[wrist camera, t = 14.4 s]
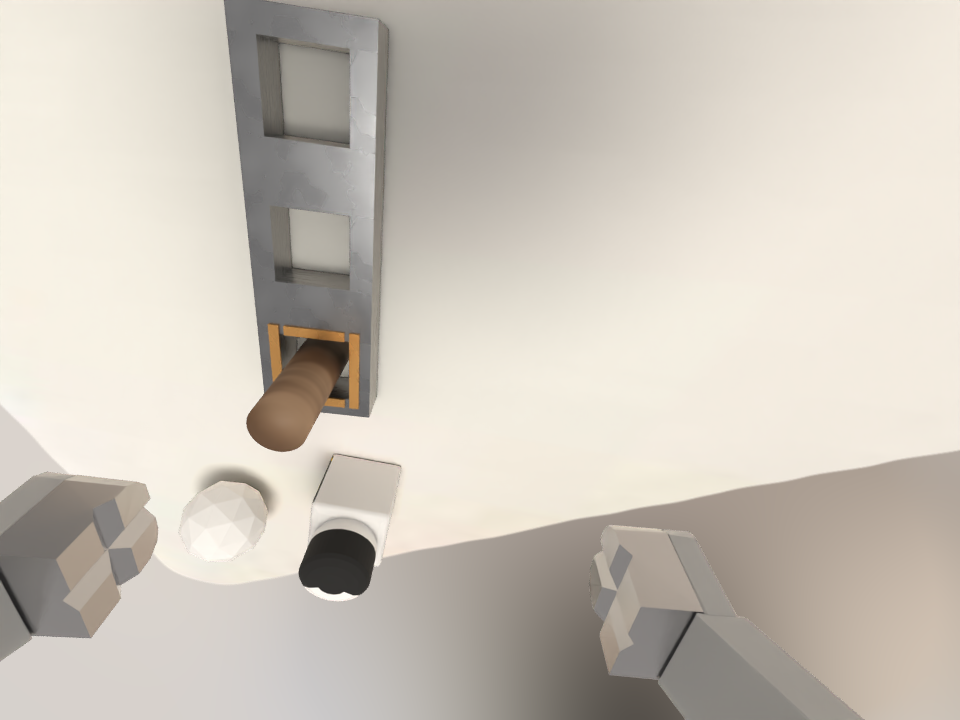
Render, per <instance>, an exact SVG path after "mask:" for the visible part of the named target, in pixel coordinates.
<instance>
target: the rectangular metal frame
mask: <svg viewBox="0 0 960 720" xmlns="http://www.w3.org/2000/svg"><path fill="white" fill-rule="evenodd" d="M224 5H225V15H226V25H227V35H228V44H229V54H230V64H231V73H232V83H233V93H234V103H235V112H236V122H237V132H238V141H239V151H240V161H241V170H242V180H243V190H244V200H245V209H246V219H247V229H248V238H249V248H250V258H251V268H252V277H253V287H254V297H255V306H256V316H257V326H258V336H259V345H260V355H261V365H262V374H263V384H264V393H265V392H266V391H267V390H268V388H269V387H270V386H271V384H272V383H273V382H274V381H275V379H276V378H277V377H278V375H279V374H280V373H281V372H282V370H283V369H284V368H285V366H286V365H287V364H288V363H289V361H290V360H291V359H292V357H293V356H294V355H295V354H296V352H297V341H296V337H303V338H312V339H320V340H329V341H337V342H345V341H347V342H349V378H345V377H339V379H338V380H337V382H336V384H335V386H334V388H333V390H332V392H331V393H330V395H329V397H328V399H327V401H326V403H325V405H324V406H323V408H322V410H321V412H323V413H332V414H341V415H351V416H360V417H369V416H370V414H371V411H372V408H373V405H374V403H375V400H376V397H377V376H378V345H379V315H380V284H381V253H382V222H383V191H384V161H385V130H386V99H387V68H388V37H389V29H388V28H387V27H386V26H385V25H384V24H383V23H382V22H381V21H380V20H379V19H375V18H369V17H363V16H356V15H350V14H344V13H338V12H332V11H326V10H320V9H313V8H307V7H301V6H295V5H289V4H283V3H276V2H270V1H264V0H224ZM278 42H279V43H285V44H292V45H298V46H304V47H311V48H317V49H323V50H330V51H336V52H343V53H349V54H350V144H345V143H338V142H331V141H324V140H317V139H310V138H303V137H296V136H289V135H284V126H283V109H282V93H281V76H280V60H279V43H278ZM289 208H293V209H301V210H308V211H316V212H323V213H330V214H338V215H345V216H350V275H343V274H335V273H327V272H319V271H311V270H303V269H295V268H292V258H291V242H290V225H289Z"/></svg>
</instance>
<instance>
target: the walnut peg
mask: <svg viewBox="0 0 960 720" xmlns="http://www.w3.org/2000/svg"><path fill="white" fill-rule="evenodd" d="M348 360H349V342H347V341H345V342H337V341H329V340H320V339H312V338H307V340H306V341H305V342H304V343H303V345H302V346H301V347H300V348H299V350H298V351H297V352H296V354H295V355H294V356H293V357H292V359H291V360H290V361H289V363H288V364H287V365H286V366H285V368H284V369H283V370H282V372H281V373H280V374H279V375H278V377H277V378H276V379H275V381H274V382H273V383H272V384H271V386H270V387H269V388H268V390H267V391H266V392H265V393H264V395H263V396H262V397H261V399H260V400H259V401H258V402H257V404H256V405H255V406H254V408H253V409H252V410H251V411H250V413H249V414H248V417H247V422H246V424H247V429H248V431H249V433H250V435H251V436H252V438H253V439H254V440H255V441H256V442H257V443H259V444H260V445H261V446H263V447H265V448H267V449H270V450H274V451H279V452H286V451H292V450H295V449H297V448H299V447H300V446H301V445H302V444H303V443H304V442H305V440H306V438H307V436H308V434H309V432H310V431H311V429H312V427H313V425H314V423H315V421H316V419H317V418H318V416H319V414H320V412H321V410H322V408H323V406H324V405H325V403H326V401H327V399H328V397H329V395H330V393H331V392H332V390H333V388H334V386H335V384H336V382H337V380H338V379H339V377H340V375H341V373H342V371H343V369H344V367H345V366H346V364H347V362H348Z"/></svg>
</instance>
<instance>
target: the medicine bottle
mask: <svg viewBox="0 0 960 720" xmlns="http://www.w3.org/2000/svg"><path fill="white" fill-rule="evenodd" d="M400 473H401V467H400V466H397V465H391V464H386V463H380V462H375V461H370V460H364V459H359V458H353V457H348V456H342V455H337V454H335V455H333V456H332V459H331V461H330V463H329V465H328V468H327V470H326V472H325V475H324V477H323V479H322V482H321V484H320V486H319V489H318V491H317V493H316V496H315V498H314V500H313V502H312V508H311V518H310V528H309V538H308V548H307V550H306V553H305V555H304V558H303V560H302V563H301V565H300V568H299V577H300V580H301V582H302V584H303V586H304V587H305V588H306V589H307V590H308V591H309V592H310V593H311V594H313V595H315V596H317V597H319V598H322V599H326V600H330V601H346V600H350V599H353V598H356V597H357V596H359V595H360V594H362V593H363V592H364V591H365V590H366V589H367V588H368V586H369V584H370V580H371V575H372V571H373V567H374V566H376V567H377V566H379V565H380V564H381V560H382V556H383V551H384V547H385V542H386V538H387V533H388V529H389V524H390V519H391V515H392V510H393V505H394V501H395V496H396V491H397V487H398V482H399V477H400Z"/></svg>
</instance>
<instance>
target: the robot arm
mask: <svg viewBox="0 0 960 720" xmlns="http://www.w3.org/2000/svg"><path fill="white" fill-rule="evenodd" d="M149 500H150V496H149V493H148V491H147V488H146V485H145V484H142V483H139V482H133V481H125V480H116V479H108V478H99V477H91V476H82V475H69V474H61V473H51V472H45V473H42V474H39V475H36V476H33V477H32V478H30V479H29V480H28V481H26V482H25V483H24V484H23V485H21V486H20V487H19V488H18V489H16V490H15V491H14V492H13V493H11V494H10V495H9V496H8V497H6V498H5V499H4V500H2V501H1V502H0V661H1V660H3V659H4V658H6V657H7V656H8V655H10V654H11V653H13V652H14V651H16V650H17V649H18V648H20V647H21V646H23V645H24V644H26V643H27V642H28V641H30V640H31V639H32V637H31V636H52V637H77V638H91V637H92V636H93V635H94V633H95V632H96V631H97V629H98V628H99V627H100V625H101V624H102V623H103V621H104V620H105V619H106V617H107V616H108V615H109V614H110V612H111V611H112V610H113V608H114V607H115V606H116V604H117V603H118V602H119V600H120V599H121V584H123V583H125V582H126V581H128V580H130V579H131V578H133V577H135V576H136V575H138V574H139V573H140V572H141V571H142V569H143V568H144V566H145V565H146V564H147V562H148V561H149V559H150V558H151V555H152V553H153V550H154V548H155V545H156V543H157V537H158V525H157V521H156V518H155V517H154V516H153V515H152V514H151V513H150V512H149V511H148V510H146V509H145V508H144V506H145V505H146V503H147V502H148V501H149ZM600 540H601V544H602V547H603V550H602V551H601V552H600V553H598V554H596V555H595V556H594V558H593V561H592V565H591V568H590V580H589V586H590V596H591V601H592V606H593V610H594V611H595V612H596V613H597V615H598V616H599V617H600V618H601V619H602V620H603V621H604V625H603V627H602V630H601V632H600V639H601V644H602V648H603V652H604V656H605V660H606V664H607V668H608V672H609V675H616V676H626V677H635V678H646V679H655V680H659V681H658V684H659V685H660V686H661V688H662V689H663V690H664V692H665V693H666V694H667V696H668V697H669V698H670V700H671V701H672V702H673V704H674V705H675V706H676V708H677V709H678V710H679V712H680V713H681V714H682V715H683V717H684V718H685V720H864V719H863V718H862V717H861V716H859V715H858V714H857V713H856V712H855V711H853V709H851V708H850V707H849V706H848V705H847V704H845V703H844V702H843V701H842V700H841V699H840V698H839V697H837V696H836V695H835V694H834V693H833V692H832V691H830V690H829V689H828V688H827V687H826V686H825V685H824V684H822V683H821V682H820V681H819V680H818V679H817V678H816V677H814V676H813V675H812V674H811V673H810V672H809V671H807V670H806V669H805V668H804V667H803V666H801V665H800V664H799V663H798V662H797V661H796V660H795V659H794V658H792V657H791V656H790V655H789V654H788V653H786V652H785V651H784V650H783V649H782V648H781V647H780V646H778V645H777V644H776V643H775V642H774V641H773V640H772V639H770V638H769V637H768V636H767V635H766V634H764V633H763V632H762V631H761V630H760V629H759V628H758V627H756V626H755V625H754V624H753V623H752V622H751V621H750V620H748V619H747V618H746V617H739V616H737V615H736V613H735V611H734V609H733V607H732V606H731V604H730V602H729V600H728V598H727V596H726V594H725V592H724V591H723V589H722V587H721V585H720V583H719V581H718V579H717V577H716V575H715V574H714V572H713V570H712V568H711V566H710V564H709V562H708V561H707V558H706V557H705V555H704V553H703V551H702V549H701V547H700V545H699V543H698V541H697V540H696V538H695V536H694V535H692V534H691V533H690V532H686V531H675V530H660V529H653V528H640V527H628V526H616V525H608V526H607V527H606V528H605V529H604V531H603V534H602V536H601V539H600Z"/></svg>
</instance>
